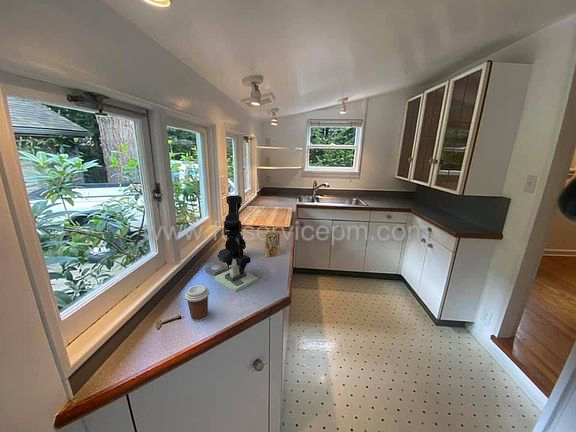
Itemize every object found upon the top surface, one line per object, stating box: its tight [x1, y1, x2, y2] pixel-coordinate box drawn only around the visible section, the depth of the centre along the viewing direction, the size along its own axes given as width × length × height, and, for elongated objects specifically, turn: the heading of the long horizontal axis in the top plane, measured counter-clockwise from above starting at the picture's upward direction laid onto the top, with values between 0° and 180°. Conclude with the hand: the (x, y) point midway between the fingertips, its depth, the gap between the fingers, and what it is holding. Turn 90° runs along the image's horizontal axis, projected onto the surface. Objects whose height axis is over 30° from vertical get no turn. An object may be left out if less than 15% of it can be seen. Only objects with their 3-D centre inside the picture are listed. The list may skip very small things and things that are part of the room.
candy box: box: [264, 230, 281, 258], centre depth 151 cm, size 9×4×15 cm, turn 110°
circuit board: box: [213, 270, 259, 292], centre depth 123 cm, size 18×14×4 cm
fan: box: [204, 261, 228, 277], centre depth 132 cm, size 9×9×3 cm
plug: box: [225, 262, 240, 278], centre depth 122 cm, size 9×3×7 cm, turn 140°
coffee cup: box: [184, 284, 210, 322], centre depth 95 cm, size 9×9×12 cm
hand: (235, 271), depth 123 cm, fingers open, 9 cm apart
